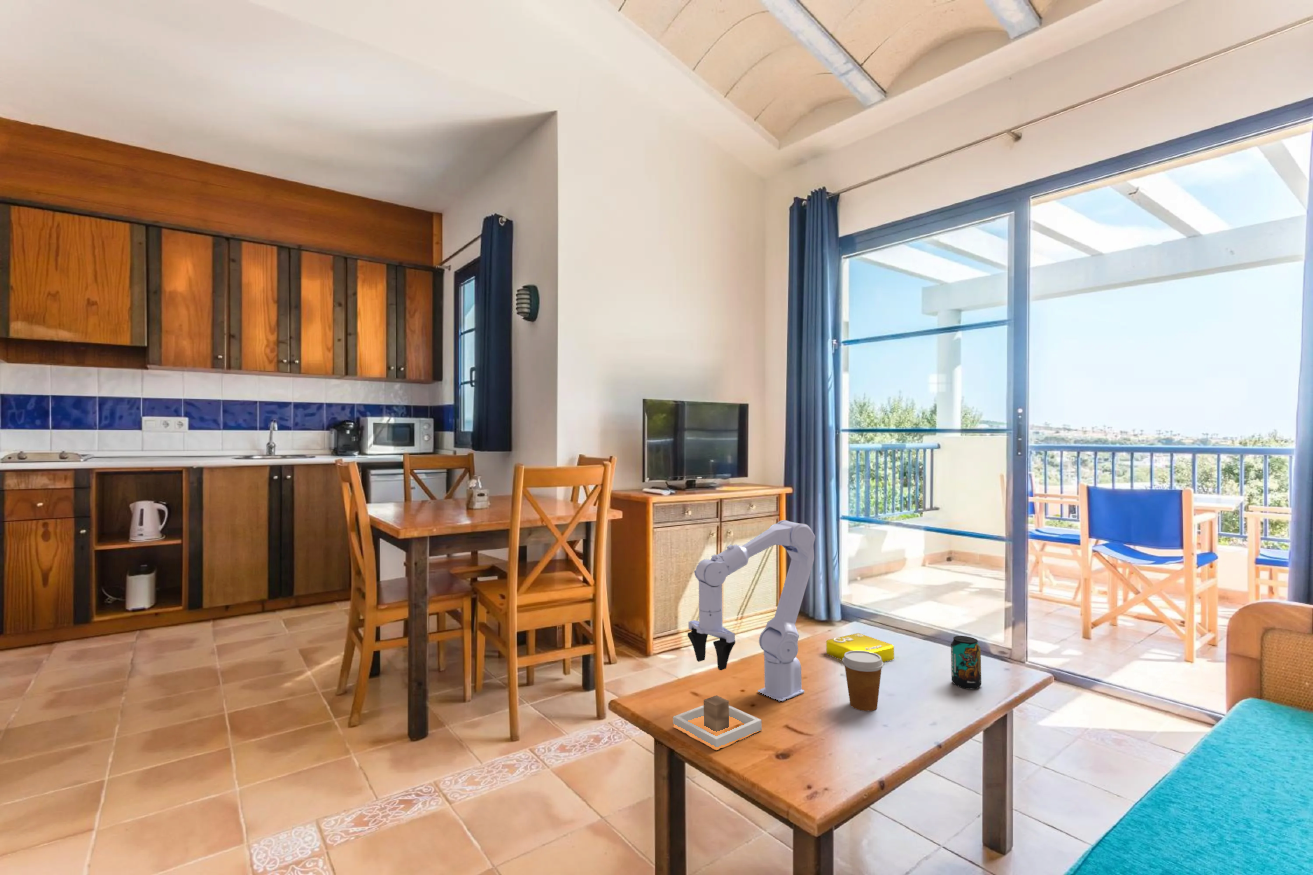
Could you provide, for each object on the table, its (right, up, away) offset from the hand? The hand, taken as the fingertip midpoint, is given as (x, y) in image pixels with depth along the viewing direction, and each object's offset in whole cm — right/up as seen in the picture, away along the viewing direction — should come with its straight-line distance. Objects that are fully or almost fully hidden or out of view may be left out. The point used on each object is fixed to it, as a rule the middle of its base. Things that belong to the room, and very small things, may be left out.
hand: (711, 664), depth 149 cm
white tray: (0, -10, -13) cm, 16 cm away
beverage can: (+68, -10, +11) cm, 70 cm away
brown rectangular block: (0, -9, -13) cm, 16 cm away
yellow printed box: (+48, -11, +34) cm, 60 cm away
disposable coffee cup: (+37, -10, -1) cm, 38 cm away
